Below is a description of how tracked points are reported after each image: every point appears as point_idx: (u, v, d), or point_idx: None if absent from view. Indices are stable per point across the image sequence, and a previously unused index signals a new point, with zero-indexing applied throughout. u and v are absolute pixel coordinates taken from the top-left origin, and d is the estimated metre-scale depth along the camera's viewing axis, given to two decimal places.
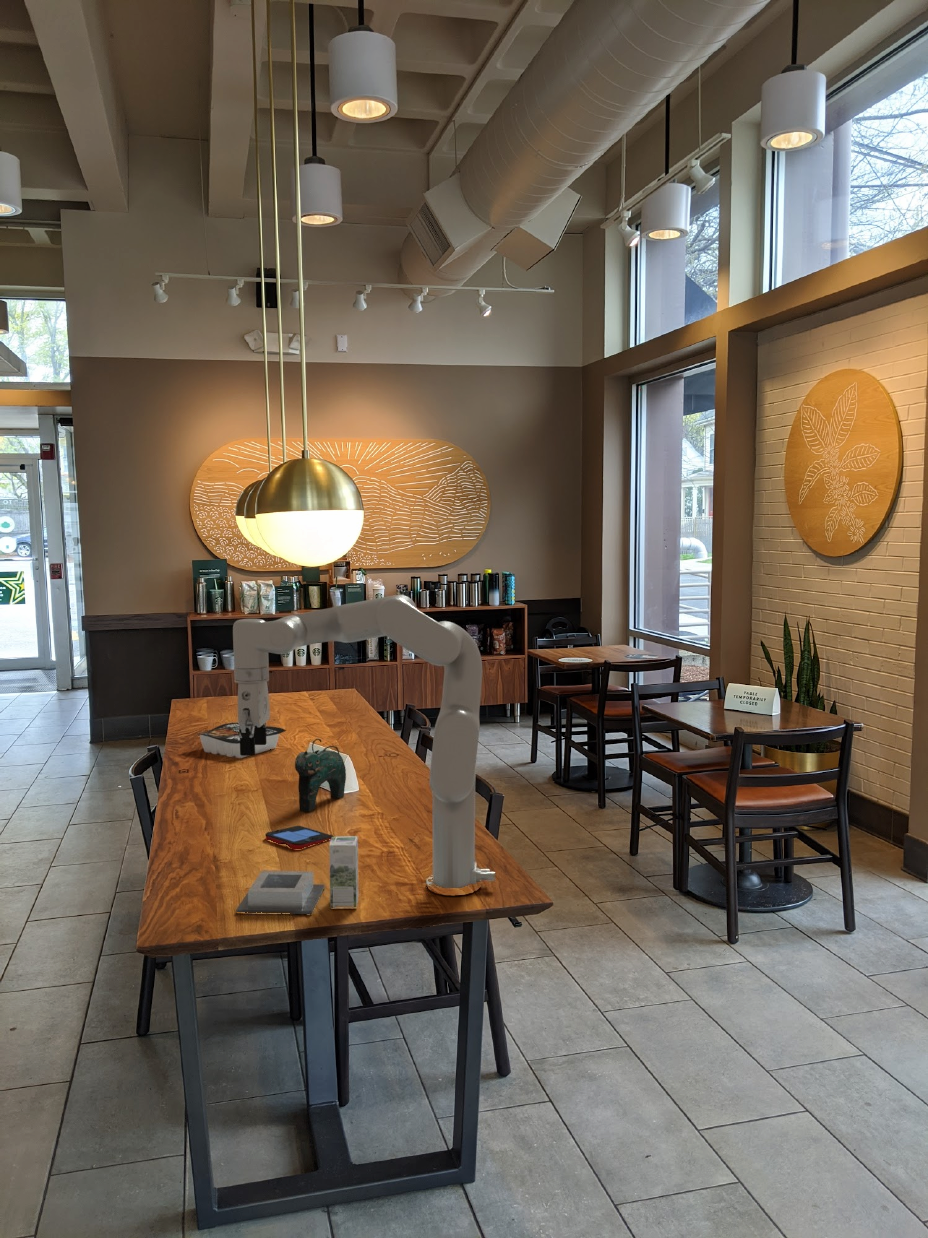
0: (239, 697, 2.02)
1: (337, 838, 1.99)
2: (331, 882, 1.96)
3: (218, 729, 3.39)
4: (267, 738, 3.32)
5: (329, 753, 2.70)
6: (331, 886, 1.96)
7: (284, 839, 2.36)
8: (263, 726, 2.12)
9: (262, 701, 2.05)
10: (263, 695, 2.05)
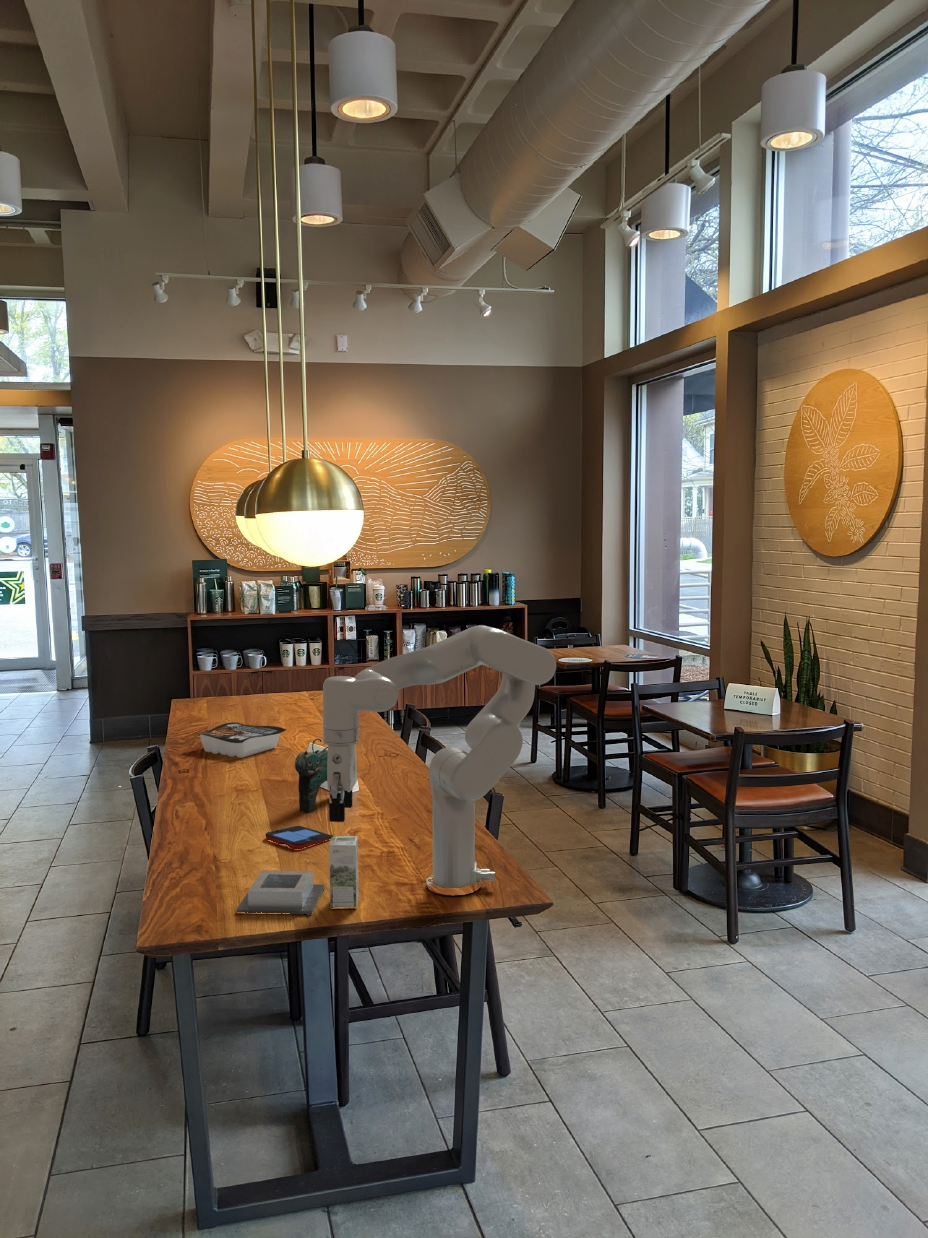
0: (329, 760, 1.91)
1: (337, 838, 1.99)
2: (331, 882, 1.96)
3: (218, 729, 3.39)
4: (268, 737, 3.32)
5: None
6: (331, 886, 1.96)
7: (284, 839, 2.36)
8: None
9: (352, 764, 1.94)
10: (353, 757, 1.95)
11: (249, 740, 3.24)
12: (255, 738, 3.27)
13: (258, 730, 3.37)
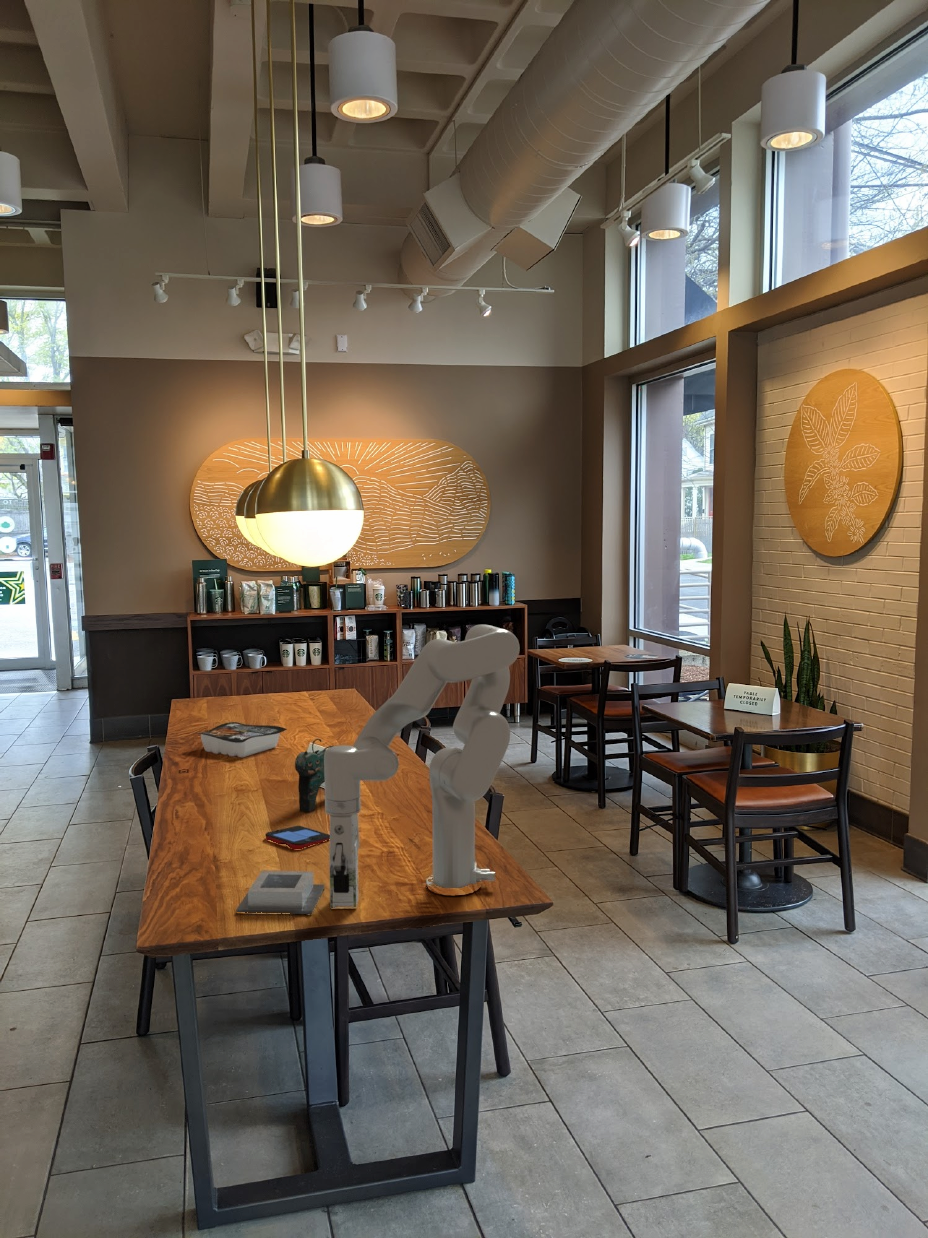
0: (332, 831, 1.93)
1: None
2: (331, 882, 1.96)
3: (218, 729, 3.40)
4: (268, 737, 3.33)
5: None
6: (331, 886, 1.96)
7: (284, 839, 2.36)
8: None
9: (354, 833, 1.96)
10: (355, 826, 1.96)
11: (250, 740, 3.25)
12: (256, 738, 3.27)
13: (258, 730, 3.37)
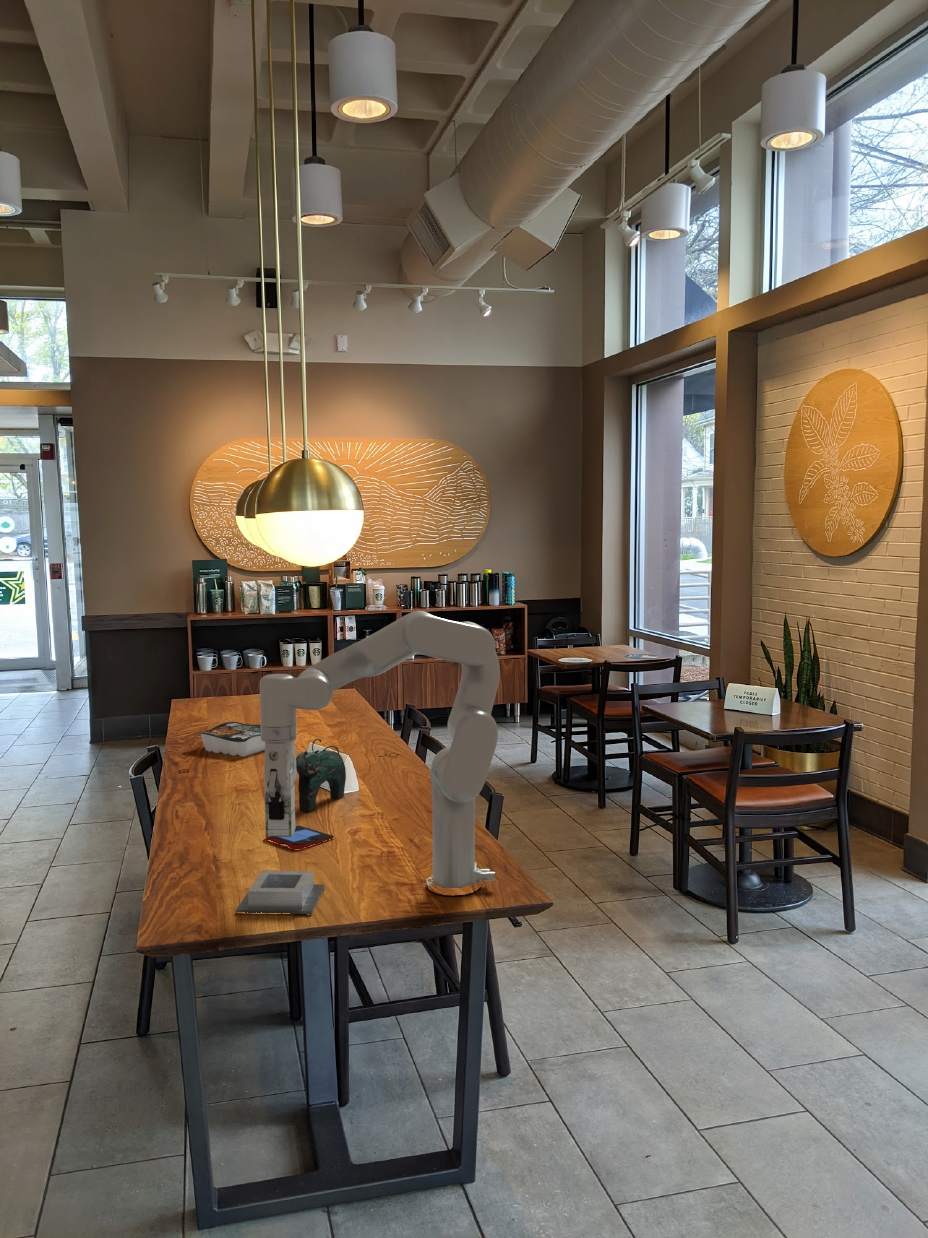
0: (266, 757, 1.93)
1: None
2: (266, 809, 1.96)
3: (218, 728, 3.40)
4: None
5: (329, 753, 2.70)
6: (266, 813, 1.96)
7: (284, 839, 2.36)
8: None
9: (290, 760, 1.96)
10: (291, 754, 1.97)
11: (251, 739, 3.26)
12: (257, 737, 3.28)
13: (259, 729, 3.38)
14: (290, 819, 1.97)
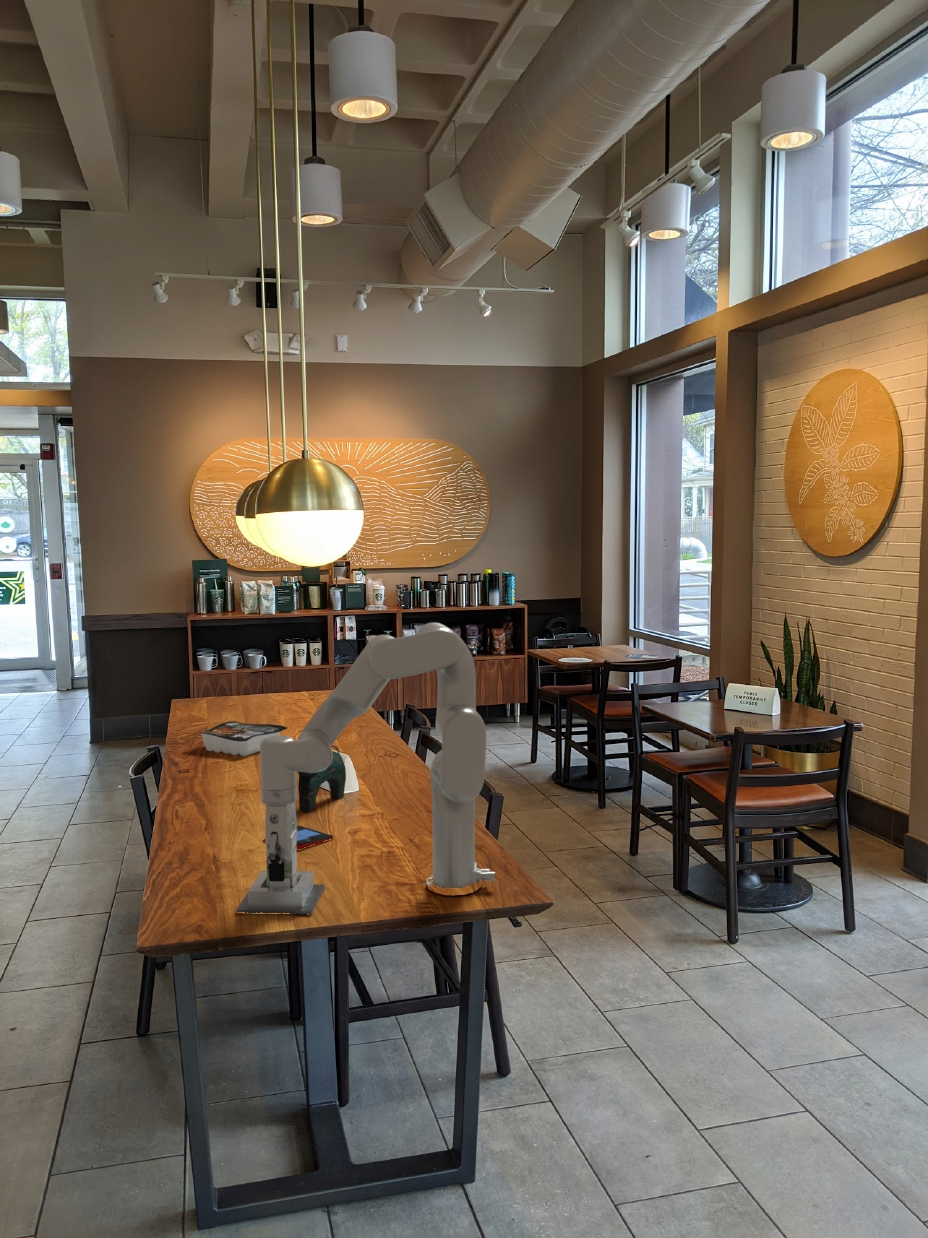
0: (267, 820, 1.95)
1: None
2: (268, 874, 1.98)
3: (219, 728, 3.41)
4: (270, 736, 3.35)
5: None
6: (268, 877, 1.98)
7: None
8: None
9: (290, 822, 1.97)
10: (291, 816, 1.98)
11: (253, 738, 3.27)
12: (258, 736, 3.29)
13: (259, 728, 3.39)
14: (291, 884, 1.98)
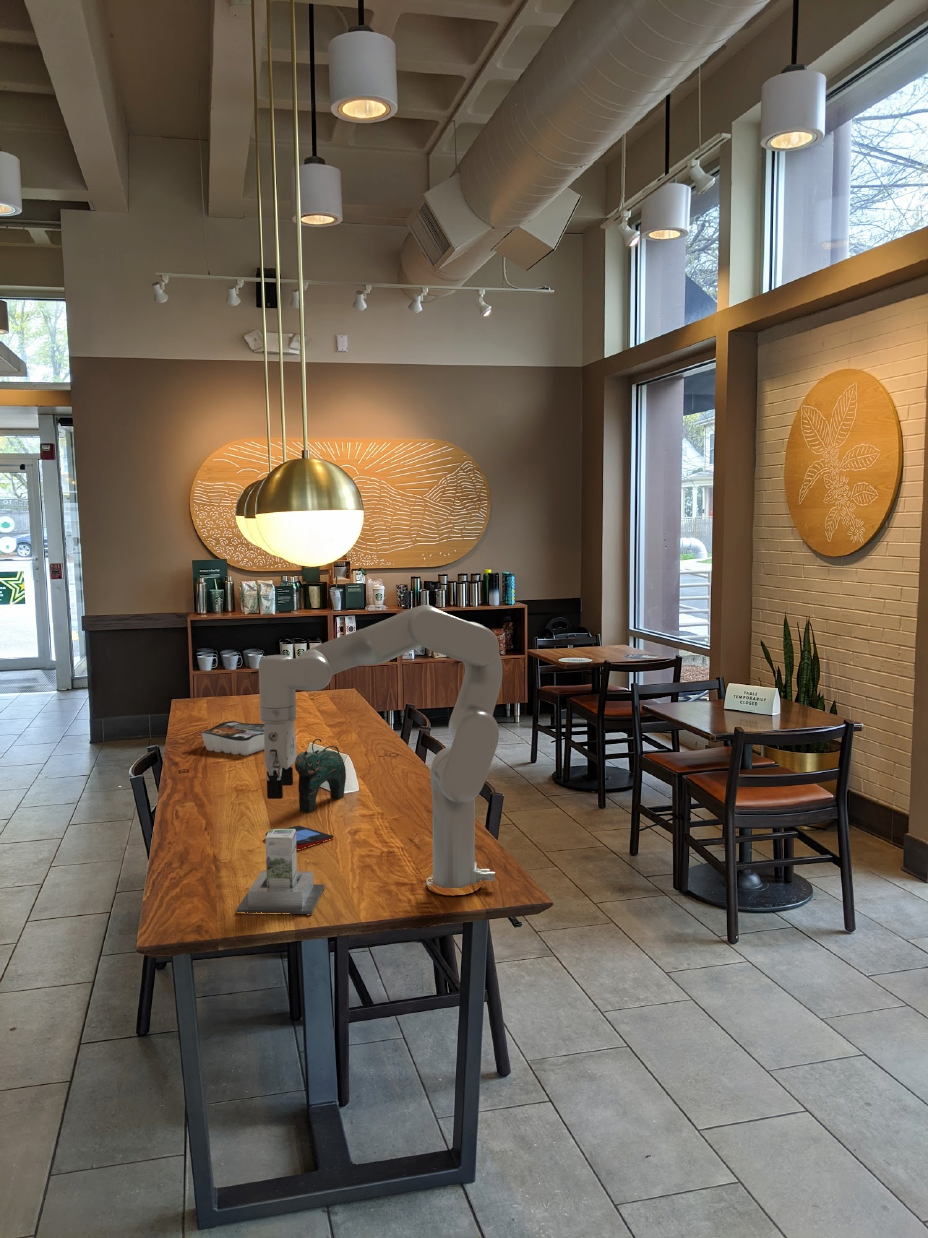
0: (266, 738, 1.93)
1: (275, 830, 2.01)
2: (268, 874, 1.98)
3: (219, 727, 3.41)
4: None
5: (329, 753, 2.70)
6: (268, 878, 1.98)
7: None
8: (289, 766, 2.04)
9: (289, 741, 1.96)
10: (290, 735, 1.97)
11: (254, 738, 3.27)
12: (259, 736, 3.30)
13: (260, 728, 3.40)
14: (291, 884, 1.98)
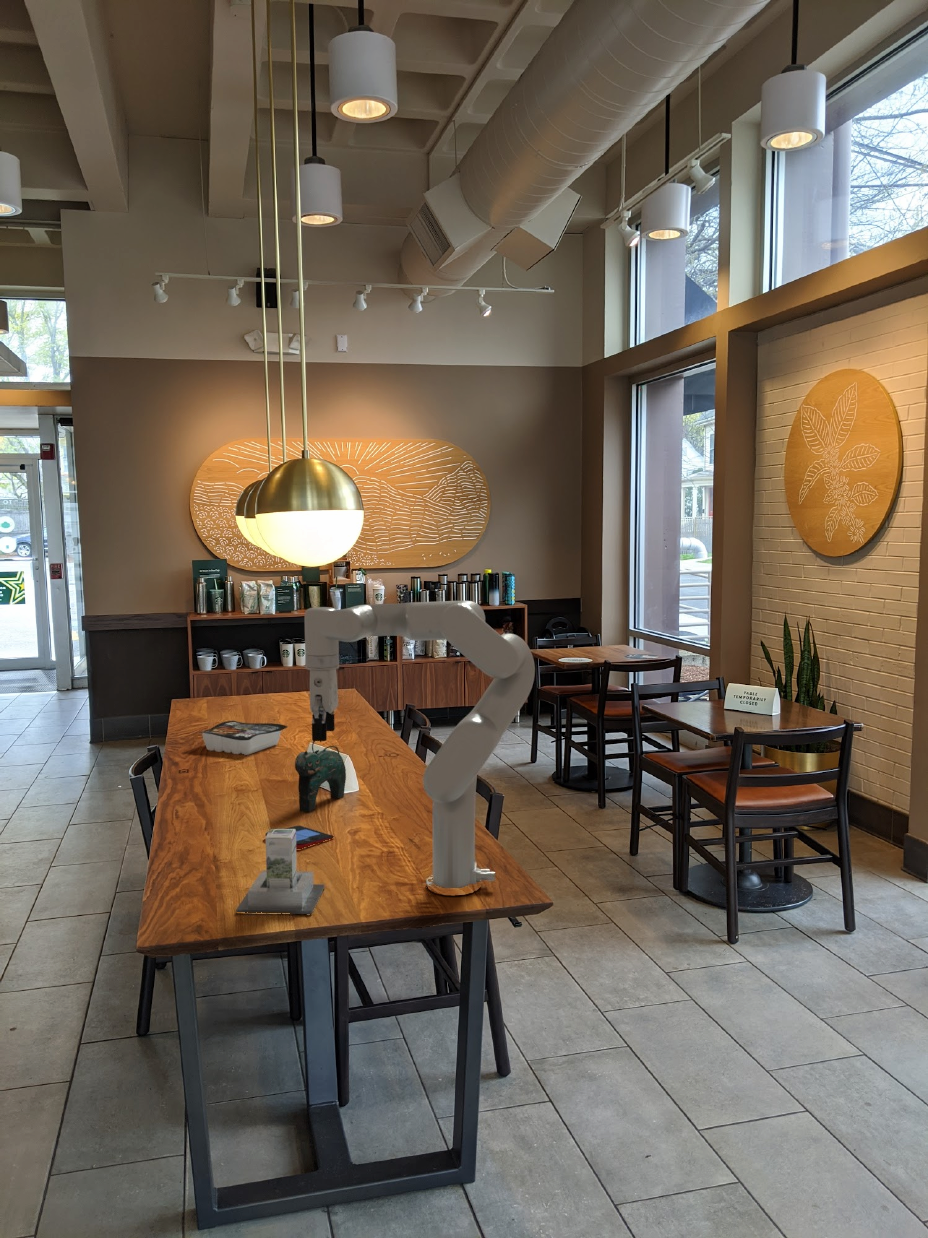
0: (311, 684, 2.06)
1: (275, 830, 2.01)
2: (268, 874, 1.98)
3: (219, 727, 3.42)
4: (271, 734, 3.37)
5: (329, 753, 2.70)
6: (268, 878, 1.98)
7: None
8: (331, 713, 2.16)
9: (333, 688, 2.09)
10: (334, 682, 2.10)
11: (255, 737, 3.28)
12: (260, 735, 3.31)
13: (260, 727, 3.41)
14: (291, 884, 1.98)
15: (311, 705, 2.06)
